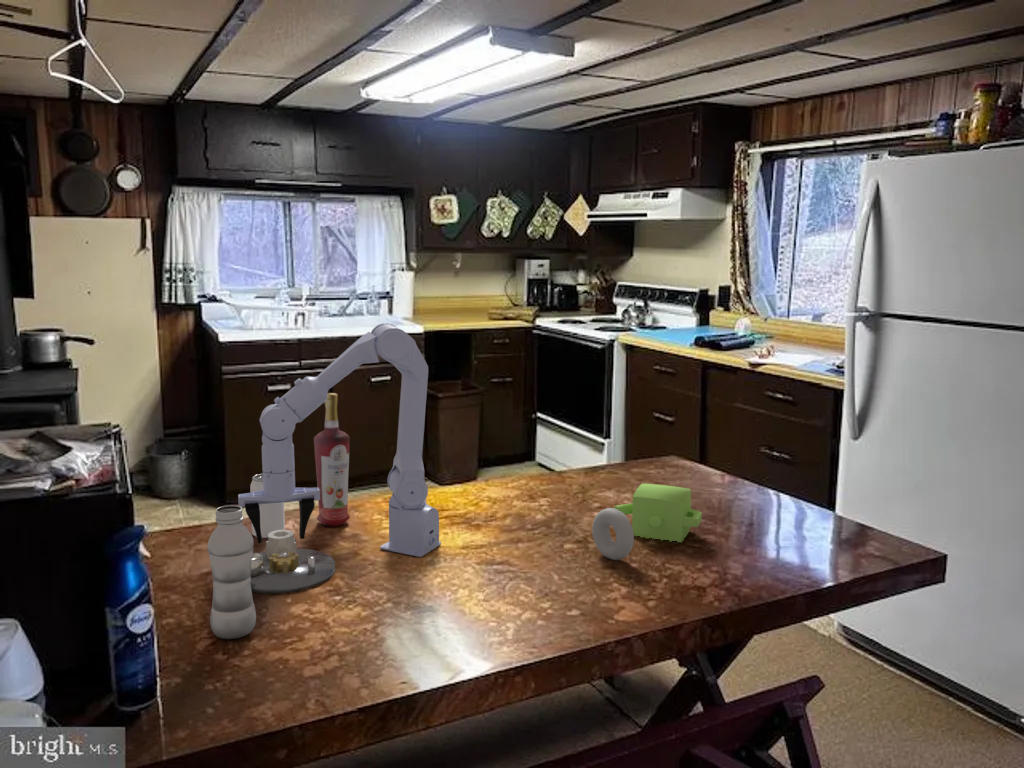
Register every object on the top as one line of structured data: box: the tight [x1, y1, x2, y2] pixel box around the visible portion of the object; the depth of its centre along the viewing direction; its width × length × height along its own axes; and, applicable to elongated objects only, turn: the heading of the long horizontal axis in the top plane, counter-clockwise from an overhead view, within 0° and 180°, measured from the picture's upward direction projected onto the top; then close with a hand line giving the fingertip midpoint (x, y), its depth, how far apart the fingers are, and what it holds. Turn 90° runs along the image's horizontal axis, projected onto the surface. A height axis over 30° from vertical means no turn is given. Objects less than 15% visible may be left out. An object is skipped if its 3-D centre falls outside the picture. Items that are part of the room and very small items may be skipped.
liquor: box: [313, 392, 351, 528], centre depth 171 cm, size 7×7×28 cm
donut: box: [591, 507, 635, 561], centre depth 157 cm, size 10×4×10 cm, turn 37°
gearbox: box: [614, 483, 703, 543], centre depth 170 cm, size 18×10×10 cm, turn 67°
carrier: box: [250, 548, 336, 594], centre depth 147 cm, size 19×20×4 cm
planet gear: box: [265, 529, 298, 558], centre depth 154 cm, size 6×5×4 cm
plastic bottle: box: [207, 504, 257, 640], centre depth 123 cm, size 6×7×20 cm
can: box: [249, 473, 286, 540], centre depth 166 cm, size 6×6×12 cm
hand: (281, 539), depth 153 cm, fingers open, 7 cm apart
